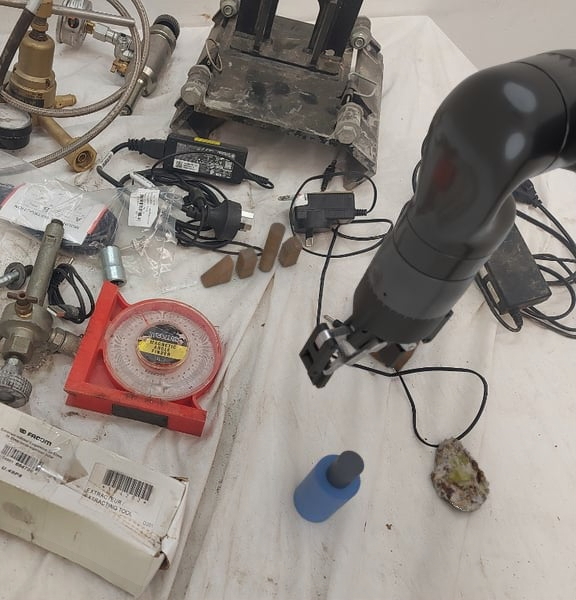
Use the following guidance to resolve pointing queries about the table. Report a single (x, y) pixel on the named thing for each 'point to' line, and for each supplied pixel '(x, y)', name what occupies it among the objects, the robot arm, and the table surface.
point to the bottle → (329, 486)
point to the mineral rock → (459, 476)
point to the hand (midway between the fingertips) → (351, 369)
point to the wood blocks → (253, 258)
